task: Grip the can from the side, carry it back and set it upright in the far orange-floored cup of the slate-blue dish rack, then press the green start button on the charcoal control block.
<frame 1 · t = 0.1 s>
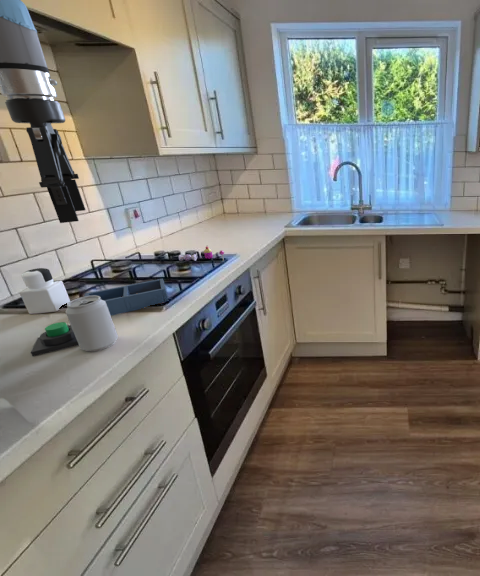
hand: (74, 216, 74), 31 cm above the countertop, tool pointing down, fingers open, 13 cm apart
can: (101, 345, 87), on the countertop
control block: (62, 342, 89), on the countertop
rack: (130, 305, 108), on the countertop
start button: (57, 329, 87), point 4 cm above the countertop, slide at 0.1 cm
medicine bottle: (51, 308, 108), on the countertop
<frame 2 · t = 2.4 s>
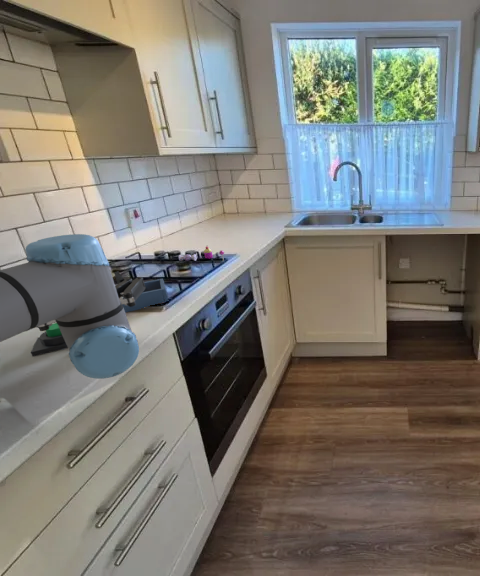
hand: (78, 286, 74), 18 cm above the countertop, tool horizontal, fingers open, 13 cm apart
nothing on the countertop moved.
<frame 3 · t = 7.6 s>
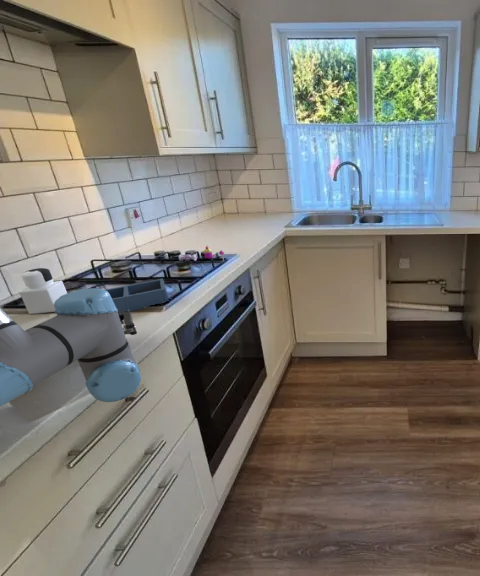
hand: (88, 314, 88), 6 cm above the countertop, tool horizontal, fingers closed on can, 7 cm apart
can: (101, 345, 87), on the countertop, touching gripper
everything else where it was.
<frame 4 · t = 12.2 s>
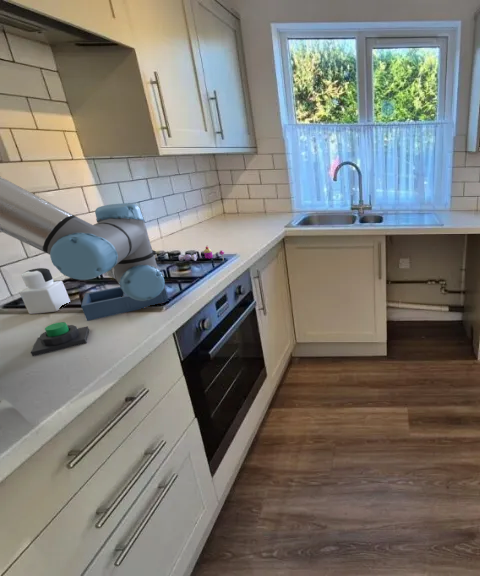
hand: (114, 248, 100), 18 cm above the countertop, tool horizontal, fingers closed on can, 7 cm apart
can: (125, 275, 99), point 11 cm above the countertop, touching gripper
everything else where it was.
when the fingers open (7 cm above the countertop, at t = 16.6 s): can stays where it is, resting on rack.
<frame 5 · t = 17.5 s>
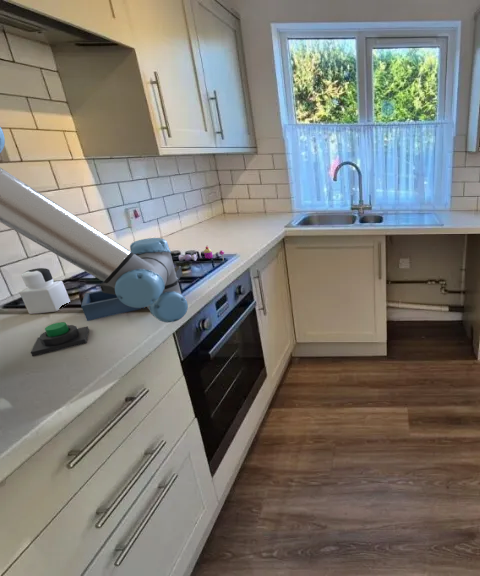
hand: (137, 271, 109), 9 cm above the countertop, tool horizontal, fingers open, 13 cm apart
can: (148, 299, 110), point 1 cm above the countertop, touching rack
everything else where it was.
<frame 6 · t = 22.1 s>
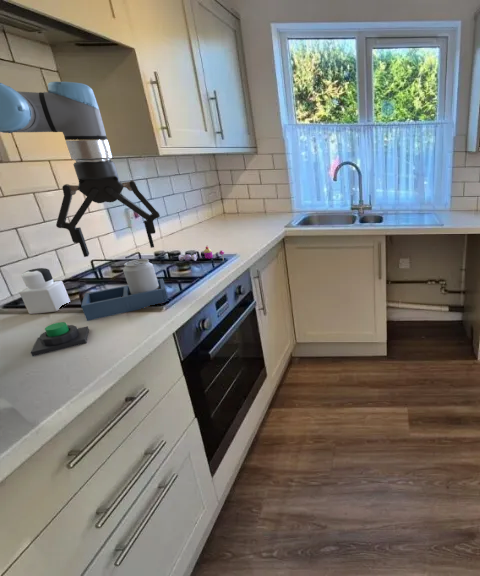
hand: (120, 250, 90), 20 cm above the countertop, tool pointing down, fingers open, 13 cm apart
nothing on the countertop moved.
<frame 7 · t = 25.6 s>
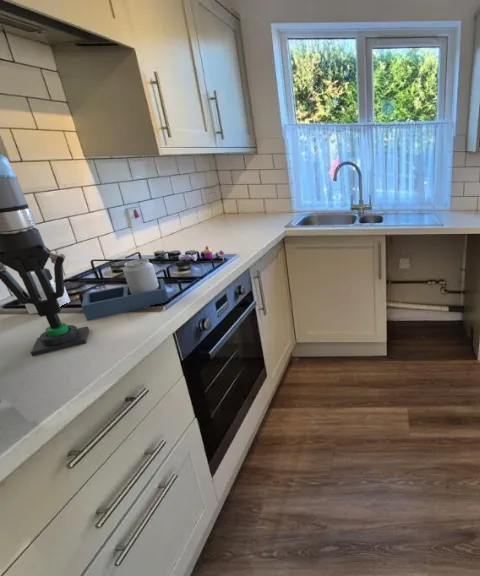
hand: (56, 325, 87), 5 cm above the countertop, tool pointing down, fingers closed
start button: (57, 330, 88), point 3 cm above the countertop, slide at -0.2 cm, touching gripper
everything else where it was.
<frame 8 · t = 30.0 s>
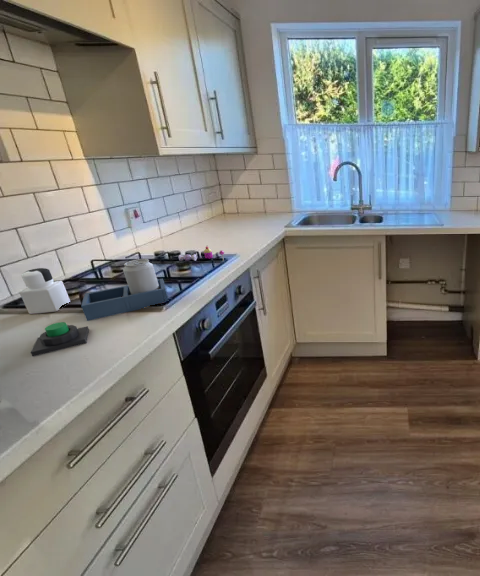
start button: (57, 329, 87), point 4 cm above the countertop, slide at 0.1 cm
everything else where it was.
at the end: can 0.0 cm from the target spot in the rack, point 0.6 cm above the rack's base; can tilted 0°; start button pushed in 1.0 cm at the most during the clip, back to where it started at the end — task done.
